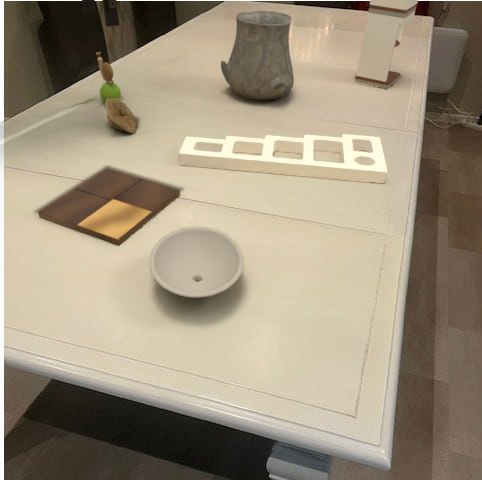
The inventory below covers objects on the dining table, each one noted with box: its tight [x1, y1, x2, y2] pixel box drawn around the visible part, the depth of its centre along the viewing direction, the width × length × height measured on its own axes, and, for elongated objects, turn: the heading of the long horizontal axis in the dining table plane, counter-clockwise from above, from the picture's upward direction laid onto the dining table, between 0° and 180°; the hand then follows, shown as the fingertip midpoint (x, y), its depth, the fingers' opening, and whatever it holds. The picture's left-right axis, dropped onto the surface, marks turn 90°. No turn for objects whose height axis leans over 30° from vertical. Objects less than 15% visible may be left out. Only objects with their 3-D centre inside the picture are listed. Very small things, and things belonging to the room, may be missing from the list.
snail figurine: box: [95, 51, 122, 103], centre depth 127 cm, size 5×6×12 cm
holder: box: [178, 133, 388, 184], centre depth 111 cm, size 45×18×3 cm, turn 83°
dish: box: [148, 225, 245, 299], centre depth 75 cm, size 18×14×5 cm
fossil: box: [104, 98, 138, 134], centre depth 117 cm, size 9×4×10 cm
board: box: [37, 167, 181, 246], centre depth 92 cm, size 18×20×1 cm
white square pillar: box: [354, 0, 419, 90], centre depth 141 cm, size 11×11×35 cm
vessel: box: [220, 10, 295, 101], centre depth 133 cm, size 22×22×20 cm
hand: (100, 18), depth 105 cm, fingers open, 13 cm apart
